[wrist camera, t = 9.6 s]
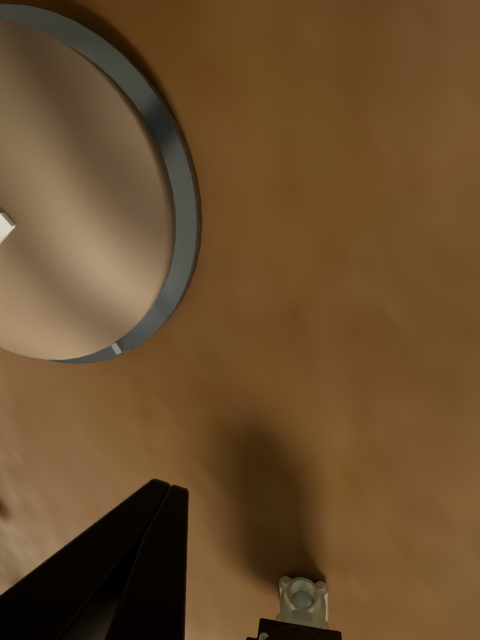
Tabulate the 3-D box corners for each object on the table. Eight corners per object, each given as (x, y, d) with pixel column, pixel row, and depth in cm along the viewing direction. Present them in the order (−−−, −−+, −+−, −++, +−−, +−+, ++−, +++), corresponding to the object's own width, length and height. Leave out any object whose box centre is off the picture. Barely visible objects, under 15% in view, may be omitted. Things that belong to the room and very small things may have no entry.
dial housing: (-103, -36, 18) (-134, -52, 16) (247, 80, 16) (241, 72, 15) (-85, 298, 25) (-105, 304, 23) (160, 396, 23) (151, 408, 22)
